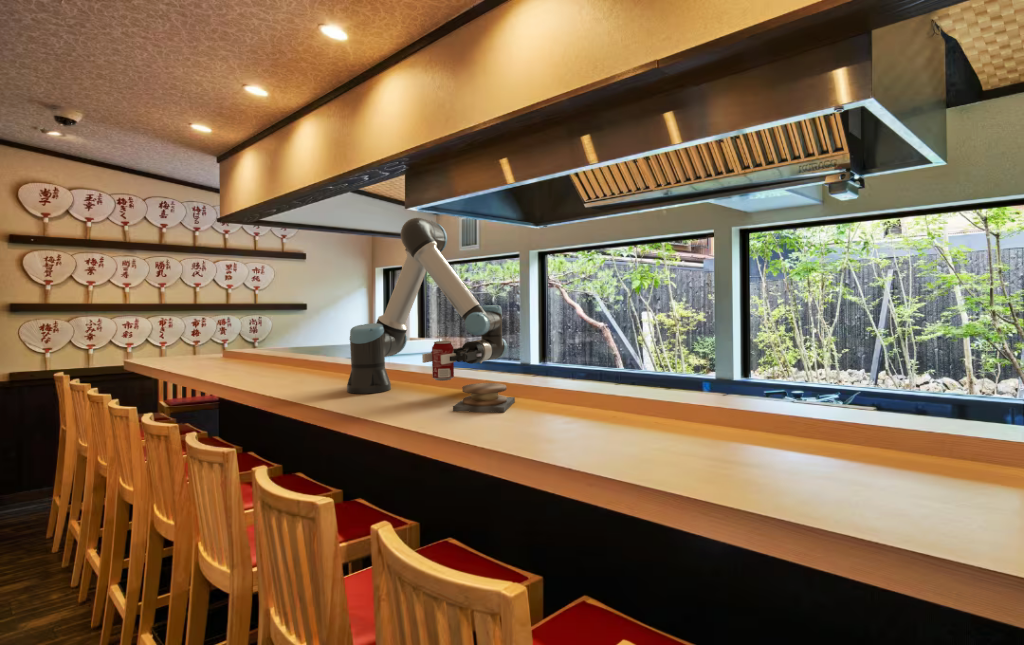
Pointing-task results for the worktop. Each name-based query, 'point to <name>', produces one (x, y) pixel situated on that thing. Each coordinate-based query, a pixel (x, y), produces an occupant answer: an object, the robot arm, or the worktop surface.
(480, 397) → the spool
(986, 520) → the worktop surface
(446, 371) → the soda can
